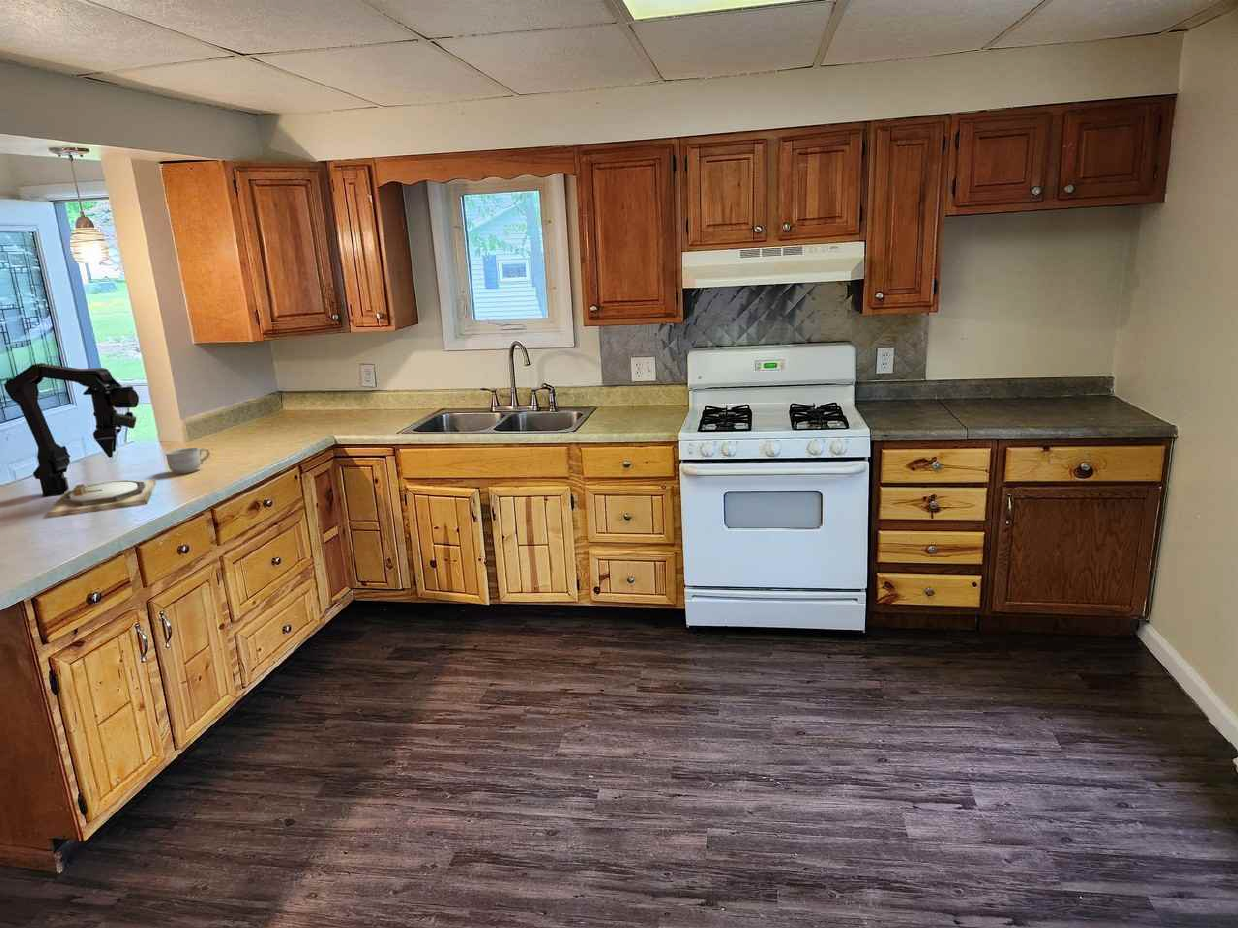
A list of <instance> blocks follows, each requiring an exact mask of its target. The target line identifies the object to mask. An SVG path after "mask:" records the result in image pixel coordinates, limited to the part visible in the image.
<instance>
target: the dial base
mask: <svg viewBox="0 0 1238 928" xmlns="http://www.w3.org/2000/svg"><path fill="white" fill-rule="evenodd" d="M112 482H113V481H110V482H109V481H108V482H107V483H112ZM115 482H133V483H136V484H137V486H138V488H137V489H136V490H133V491H130V492H126V493H123V494H120V495H117V496H113V497H106V498H98V499H91V500H75V499H70V496H69V495H70V494H71V493H72V492H74V491H73V490H74V489H72V490H68V491H65V492H64V494H61V496H60V497H59V498H58V499H57V501H56V502H55V503H54V505H53V506H52V507H51V508H50V509H49V511H47V514H48V515H47V516H48V518H54V517H62V516H69V515H77V514H86V513H90V512H99V511H106V510H112V509H119V508H121V509H122V508H129V507H135V506H140V505H147V504H149V500H150V498H151V496H152V494H153V492H154V489H155V487H156V485H157V482H156V479H150V480H142V481H135V480H119V481H118V480H116V481H115ZM105 483H106V482H101V483H96V484H90V485H86V486H85V487H89V486H94V485H99V484H105Z"/></svg>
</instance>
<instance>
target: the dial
mask: <svg viewBox="0 0 1238 928" xmlns="http://www.w3.org/2000/svg"><path fill="white" fill-rule="evenodd" d="M111 482H112V483H108V482H104V483H105V484H100V483H98V484H99V485H94V484H93V485H94V486H90V485H88V486H89V487H86V486H85V484H84V483H83V484H77V485H76V486H75V487H74V488H73V489H72V490H73V491H74V492H72V493H71V494H70V495H69V496H70V499H75V500H91V499H98V498H106V497H113V496H117V495H120V494H123V493H126V492H130V491H133V490H136V489H137V488H138V486H137V484H136V483H133V482H116V481H111Z"/></svg>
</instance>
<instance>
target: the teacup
mask: <svg viewBox="0 0 1238 928" xmlns="http://www.w3.org/2000/svg"><path fill="white" fill-rule="evenodd" d="M204 451H205V452H206V456H204V457H203V458H201V455H202V452H204ZM210 455H211V451H210V449H208V448H206V447H202V448H201V447H200V448H198V447H188V448H186V447H185V448H180V449H175V450H170V451H167V452H166V453H165V456H166V461H167V464H168V468H169V469H170V471H172V472H173V473H176V474H186V473H193V472H196V471H197V470H198V469H199V468H200V466H201V465H203V463H204V462H205V461H206V460H208V459H209V457H210Z"/></svg>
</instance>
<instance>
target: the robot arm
mask: <svg viewBox="0 0 1238 928" xmlns="http://www.w3.org/2000/svg"><path fill="white" fill-rule="evenodd" d="M44 378H45V379H46V378H47V379H53V380H62V381H66V382H67V381H69V382H74V383H78V384H80V385H81V386H82V387H83V386H84V387H86V390H85V391H84V392H83V396H90V397H91V403H92V409H93V414H92V415H93V416H94V419H95V430H94V431H93V433H92V434H93V435H92V436H93V439H94V440H95V442H96V443H97V444H98V445H99V447H100V448H101V449H102V450H103V452H104V454H106V456H107V458H110V459H111V458H113V456H114V453H115V452H116V450H117V438H118V434H119V433H120V432H121V431H122V428H123V427H127V428H129V429H135V426H136V422H137V417H136V416H134V413H133V412H132V411H126V412H125V413H122V414H121V413H118V410H117V408H118V409H121V408H136V407H138V405H139V402H140V396H139V394H138V392H137V391H136V390H135V389H134V386H132V385H131V386H130V385H129V386H122V385H121V384H120V383H119V382H118V381H117V379H115V378H114V377H113V375H112V373H111V371H110V370H109V369H108V368H105V367H100V368H99V367H97V368H94V367H93V368H75V367H67V366H60V365H54V364H53V365H52V364H47V363H44V362H40V363H34V364H32V365H30V366H29V367H28V368H27V369H25V370H24V371H22V372H20V373H19V374H17V375H16V376H14V377H12V378H8V379H7V380H6V381H5V383H4V390H5V392H6V394H7V395H8V396H9V399H11V400H12V401H13V402H14V403H16V404H17V405H18V406H19V407H20V410H21V412H22V414H23V416H24V419H25V421H26V423H27V425H28V427H29V430H30V432H31V434H32V437H33V439H34V441H35V443H36V446H37V448H38V449H37V456H36V457H37V462H38V466H37V468H35V470H34V471H33V473H32V475H33V477H34V478H35V479H36V480H39V482H40V486H41V487H40V488H41V490H42V494H41V497H43V498H44V497H49V496H57V495H58V496H59V495H63V494H64V492H65V491H69V489H70V488H69V484H68V482H69V481H68V479H67V477H66V476H65V474H64V473H66V472H67V470H68V466H69V465H70V462H71V460H70V458H71V455H70V454H69V452H68V450H67V447H66V446H65V445H63V446H60V445H59V444H58V443H57V442H56V440H55V439H54V437H53V434H52V432H51V429H50V427H49V424H48V423H47V420H46V418H45V416H44V414H43V411H42V408H41V407H40V405H39V402H38V400H39V399H38V398H39V393H40V392H39V389H38V388H39V387H38V385H39V384H40V383H42V381H43V379H44Z"/></svg>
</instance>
